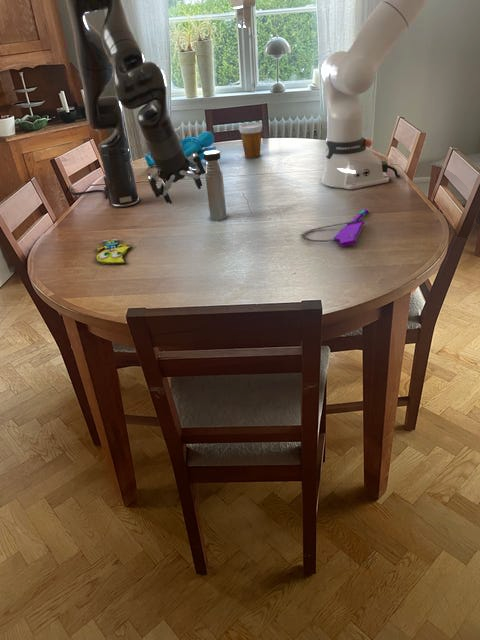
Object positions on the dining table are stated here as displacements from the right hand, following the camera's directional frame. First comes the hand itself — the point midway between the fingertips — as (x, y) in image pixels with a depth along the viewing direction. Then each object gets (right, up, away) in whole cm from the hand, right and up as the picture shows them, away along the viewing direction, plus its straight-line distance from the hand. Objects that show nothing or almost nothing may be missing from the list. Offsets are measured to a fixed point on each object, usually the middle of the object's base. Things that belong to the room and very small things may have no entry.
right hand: (244, 27), depth 136 cm
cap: (-9, -36, -1) cm, 37 cm away
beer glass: (+4, -14, +66) cm, 68 cm away
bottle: (-8, -52, +9) cm, 54 cm away
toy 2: (-25, -19, +63) cm, 71 cm away
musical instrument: (+25, -59, -6) cm, 64 cm away
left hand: (-16, -50, -9) cm, 53 cm away
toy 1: (-36, -65, -7) cm, 75 cm away
